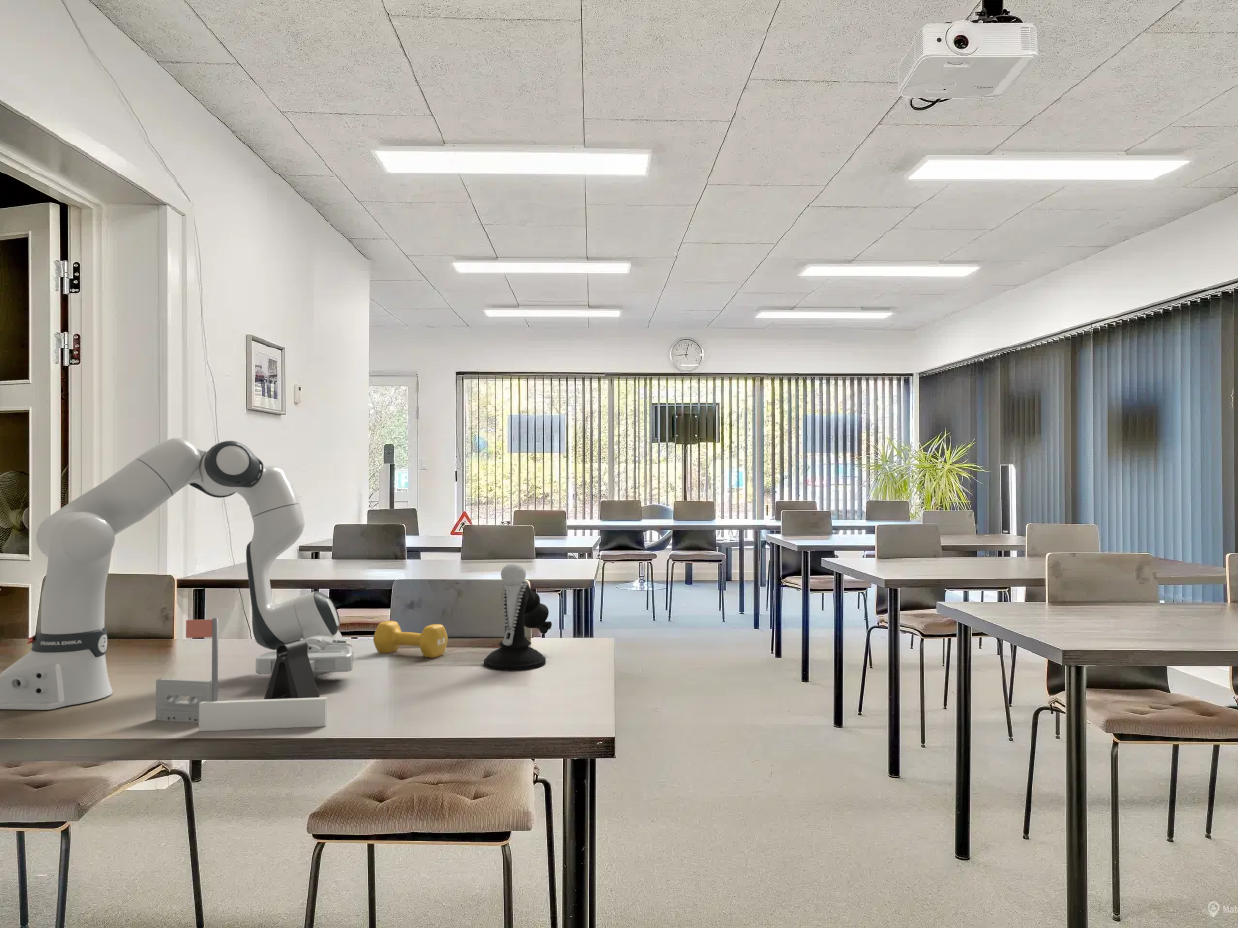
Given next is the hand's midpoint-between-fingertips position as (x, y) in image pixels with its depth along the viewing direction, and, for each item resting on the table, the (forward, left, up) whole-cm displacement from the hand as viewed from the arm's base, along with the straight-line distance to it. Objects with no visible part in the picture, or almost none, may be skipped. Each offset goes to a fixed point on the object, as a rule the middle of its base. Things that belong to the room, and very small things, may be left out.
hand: (297, 670), depth 171 cm
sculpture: (+48, +27, -5) cm, 55 cm away
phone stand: (0, -4, -5) cm, 7 cm away
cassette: (-16, -16, -6) cm, 24 cm away
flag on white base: (-2, -17, -5) cm, 18 cm away
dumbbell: (+19, +38, -6) cm, 43 cm away
